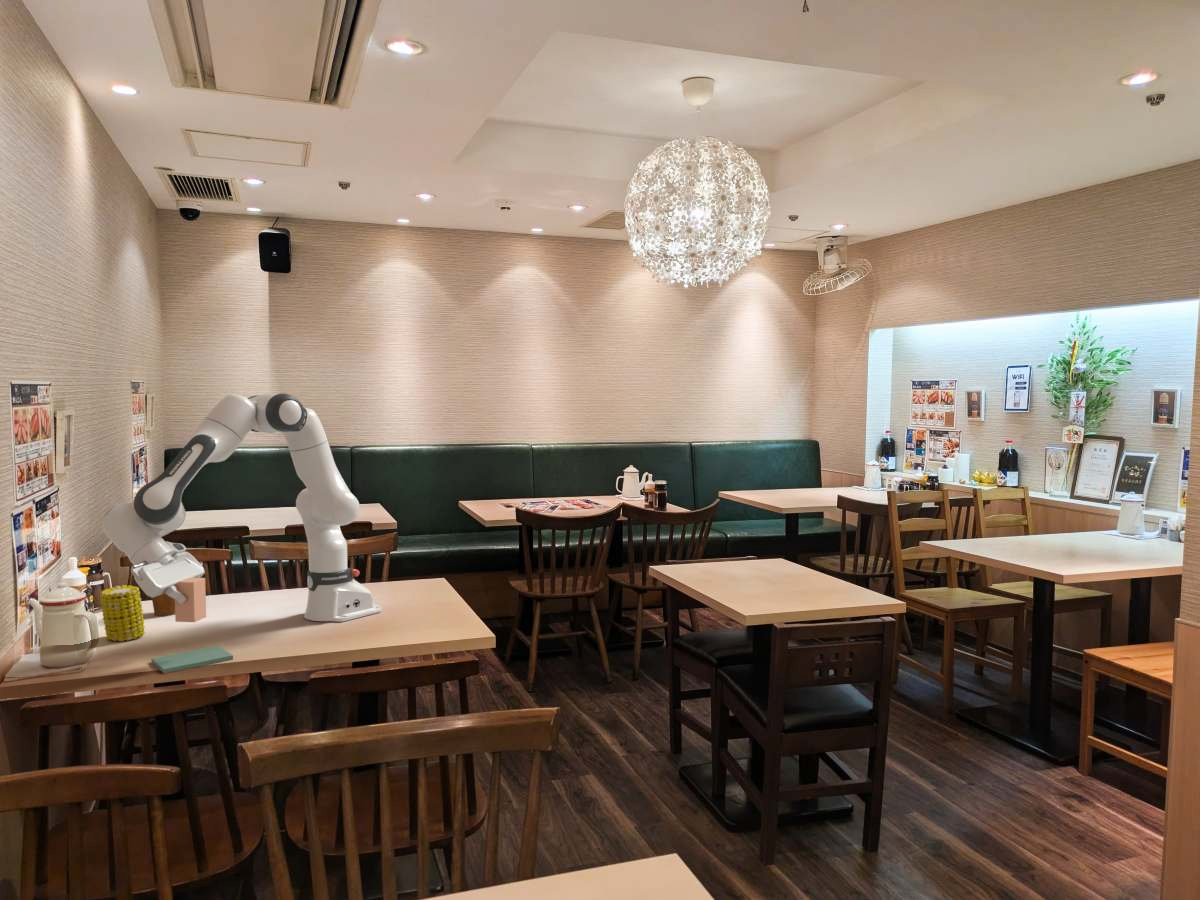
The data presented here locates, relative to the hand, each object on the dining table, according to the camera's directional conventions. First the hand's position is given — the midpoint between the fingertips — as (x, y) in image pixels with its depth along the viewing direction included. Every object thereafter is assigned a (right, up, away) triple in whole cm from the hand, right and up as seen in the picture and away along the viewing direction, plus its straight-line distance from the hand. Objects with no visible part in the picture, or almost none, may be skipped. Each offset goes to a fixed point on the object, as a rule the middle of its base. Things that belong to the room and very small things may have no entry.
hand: (192, 598), depth 208 cm
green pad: (-1, -16, +1) cm, 16 cm away
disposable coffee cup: (-30, -13, +46) cm, 56 cm away
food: (-29, -15, +20) cm, 38 cm away
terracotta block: (-1, -5, 0) cm, 5 cm away
